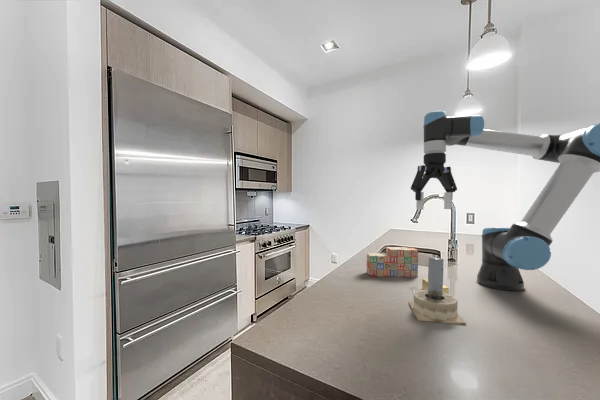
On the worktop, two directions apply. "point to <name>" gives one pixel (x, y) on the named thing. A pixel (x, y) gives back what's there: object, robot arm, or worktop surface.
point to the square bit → (425, 286)
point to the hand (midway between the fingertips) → (434, 209)
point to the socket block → (435, 308)
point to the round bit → (435, 278)
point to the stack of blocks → (393, 262)
